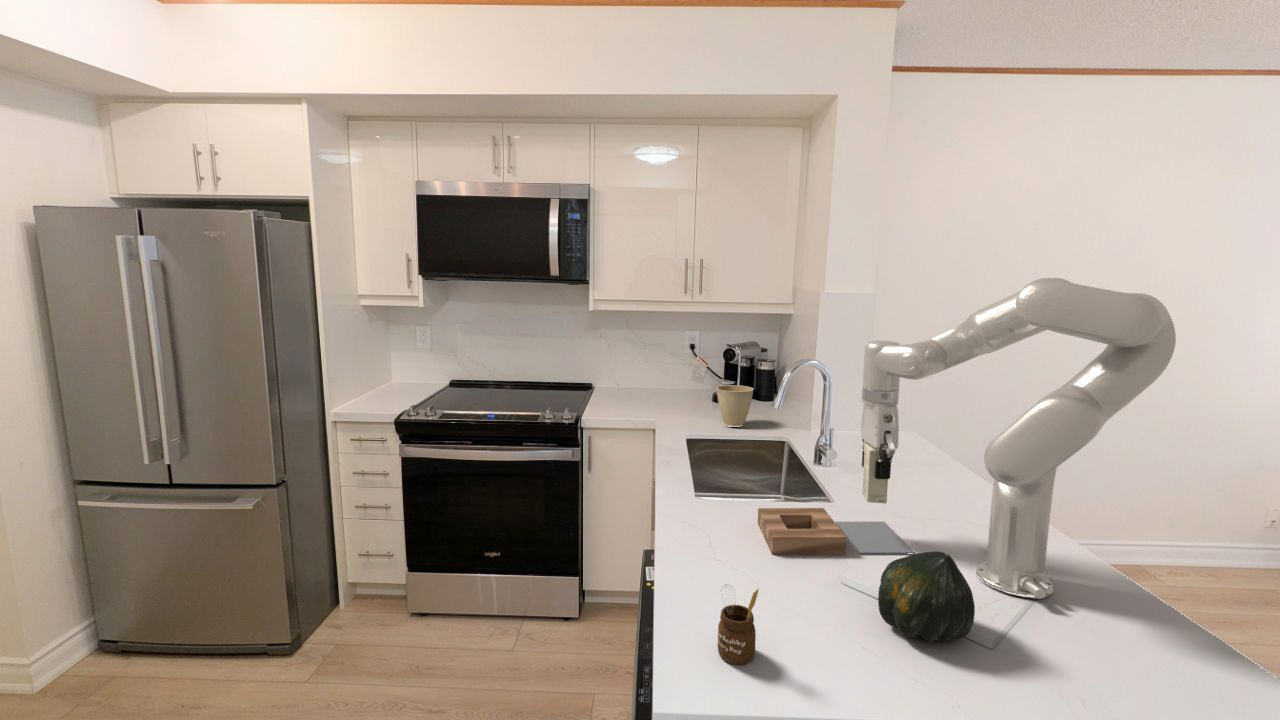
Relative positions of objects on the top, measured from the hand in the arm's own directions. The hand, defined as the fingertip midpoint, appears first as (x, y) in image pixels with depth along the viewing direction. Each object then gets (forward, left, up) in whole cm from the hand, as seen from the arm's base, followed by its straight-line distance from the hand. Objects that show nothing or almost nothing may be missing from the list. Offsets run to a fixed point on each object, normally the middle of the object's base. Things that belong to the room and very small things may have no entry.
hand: (875, 472), depth 130 cm
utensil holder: (-42, +38, -16) cm, 59 cm away
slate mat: (0, 0, -16) cm, 16 cm away
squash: (-35, +5, -16) cm, 38 cm away
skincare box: (0, 0, -6) cm, 6 cm away
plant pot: (+103, +16, -16) cm, 106 cm away
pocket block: (0, +17, -16) cm, 23 cm away
